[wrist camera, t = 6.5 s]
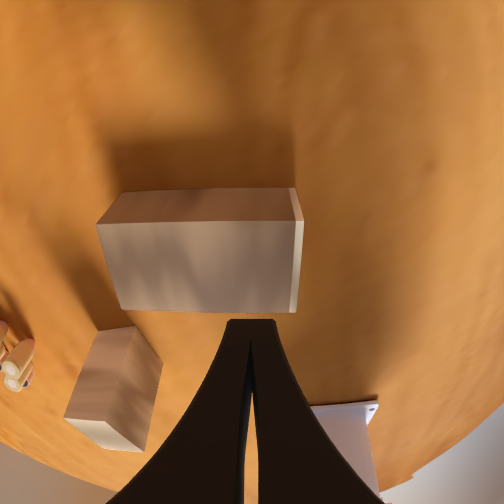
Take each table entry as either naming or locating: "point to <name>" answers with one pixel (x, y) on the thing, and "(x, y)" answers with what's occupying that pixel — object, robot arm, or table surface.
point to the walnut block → (205, 249)
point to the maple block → (116, 390)
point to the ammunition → (16, 362)
